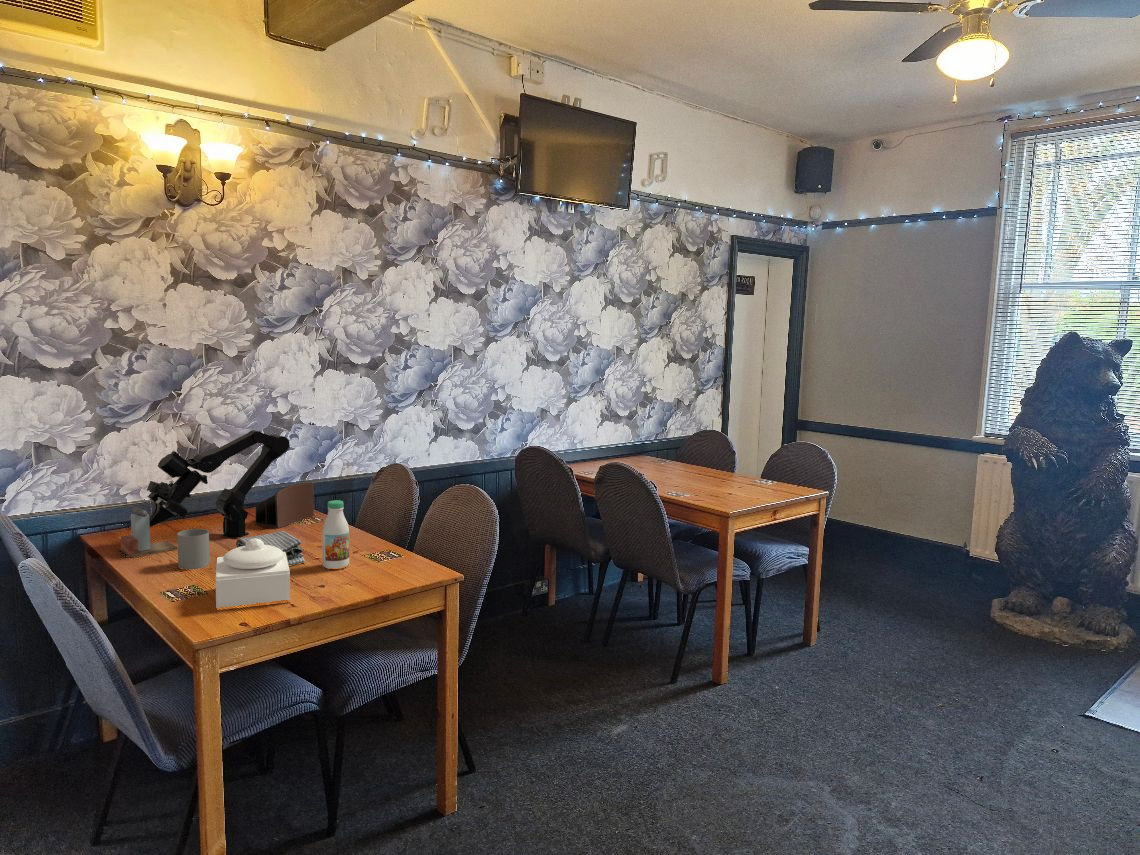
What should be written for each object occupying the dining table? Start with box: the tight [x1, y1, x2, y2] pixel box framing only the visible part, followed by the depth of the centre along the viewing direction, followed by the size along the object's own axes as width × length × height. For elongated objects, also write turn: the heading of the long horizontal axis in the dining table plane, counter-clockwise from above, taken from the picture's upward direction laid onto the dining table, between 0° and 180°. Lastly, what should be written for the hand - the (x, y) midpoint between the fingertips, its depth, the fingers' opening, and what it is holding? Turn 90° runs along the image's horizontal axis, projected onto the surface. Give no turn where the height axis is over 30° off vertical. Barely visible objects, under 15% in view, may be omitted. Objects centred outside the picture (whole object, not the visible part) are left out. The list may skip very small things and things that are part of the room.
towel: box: [235, 530, 306, 565], centre depth 235 cm, size 15×18×8 cm
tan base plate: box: [120, 534, 178, 558], centre depth 241 cm, size 14×9×5 cm, turn 137°
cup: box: [176, 528, 211, 570], centre depth 228 cm, size 8×8×10 cm
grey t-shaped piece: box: [130, 505, 151, 551], centre depth 239 cm, size 4×8×13 cm, turn 47°
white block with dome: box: [215, 538, 291, 608], centre depth 205 cm, size 18×18×16 cm
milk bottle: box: [321, 499, 350, 568], centre depth 231 cm, size 8×8×20 cm
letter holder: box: [254, 482, 315, 529], centre depth 281 cm, size 10×20×14 cm, turn 160°
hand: (148, 526), depth 241 cm, fingers closed, pressing on grey t-shaped piece
